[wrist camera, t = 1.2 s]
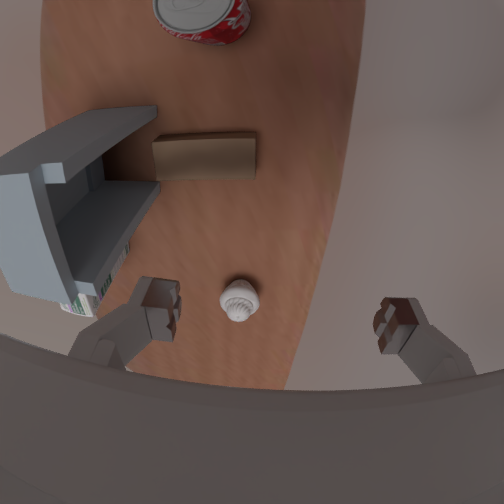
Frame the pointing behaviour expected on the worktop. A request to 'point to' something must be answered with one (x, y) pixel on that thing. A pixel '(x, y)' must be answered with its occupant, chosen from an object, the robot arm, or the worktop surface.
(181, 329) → the worktop surface
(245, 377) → the worktop surface
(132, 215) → the shelf
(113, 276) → the syrup box
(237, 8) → the soda can
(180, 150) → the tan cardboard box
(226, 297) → the white ceramic jar
